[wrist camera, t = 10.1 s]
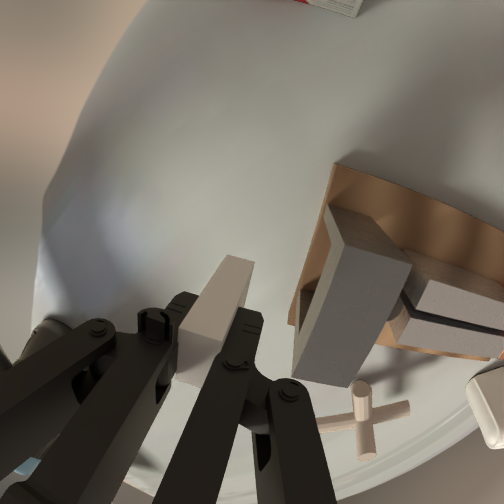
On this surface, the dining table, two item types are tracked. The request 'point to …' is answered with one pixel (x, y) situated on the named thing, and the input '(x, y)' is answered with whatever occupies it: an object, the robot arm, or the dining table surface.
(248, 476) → the dining table surface
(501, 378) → the photo printer
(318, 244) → the board
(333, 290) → the collar
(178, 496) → the robot arm
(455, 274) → the leg
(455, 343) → the leg
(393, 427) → the dining table surface
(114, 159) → the dining table surface
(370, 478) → the dining table surface
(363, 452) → the pipe connector
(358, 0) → the ink box
